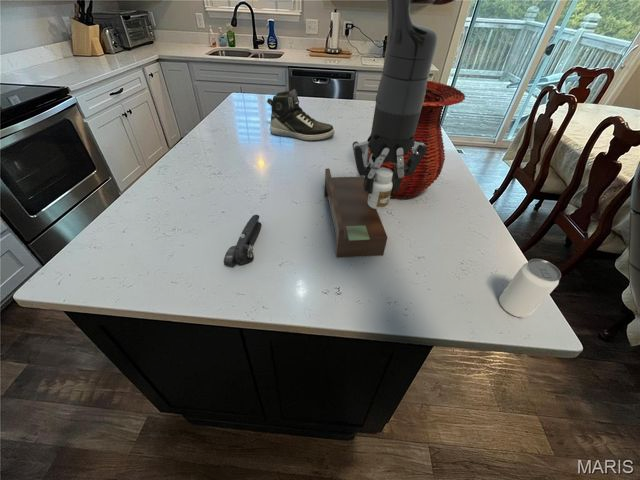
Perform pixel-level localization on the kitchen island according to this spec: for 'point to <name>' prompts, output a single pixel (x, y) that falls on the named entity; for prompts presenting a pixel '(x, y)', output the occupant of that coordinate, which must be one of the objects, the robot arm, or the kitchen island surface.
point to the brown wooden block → (354, 218)
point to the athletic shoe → (295, 119)
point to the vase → (427, 140)
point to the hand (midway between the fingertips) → (380, 191)
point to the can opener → (244, 244)
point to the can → (529, 287)
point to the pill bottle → (381, 189)
